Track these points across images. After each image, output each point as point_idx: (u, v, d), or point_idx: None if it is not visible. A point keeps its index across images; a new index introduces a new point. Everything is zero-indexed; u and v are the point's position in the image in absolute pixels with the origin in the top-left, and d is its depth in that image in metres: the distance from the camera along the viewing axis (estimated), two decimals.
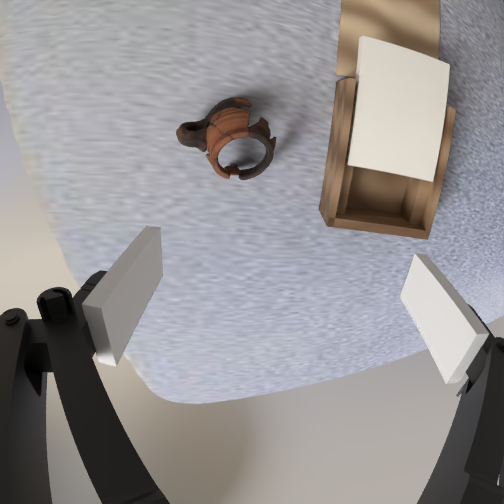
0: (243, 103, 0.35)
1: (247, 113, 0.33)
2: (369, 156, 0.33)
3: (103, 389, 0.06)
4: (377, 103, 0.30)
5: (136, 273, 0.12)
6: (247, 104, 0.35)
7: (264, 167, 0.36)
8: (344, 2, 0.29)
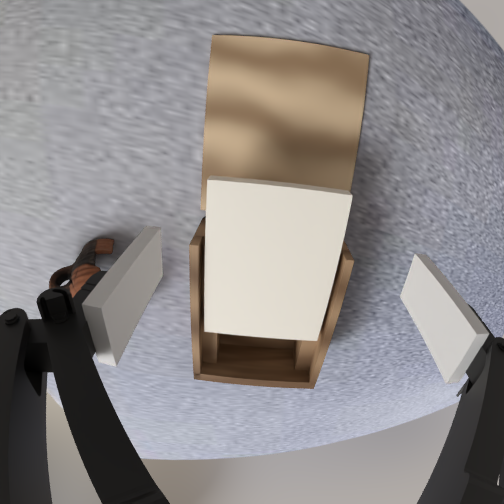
0: (102, 251, 0.32)
1: None
2: (228, 323, 0.31)
3: (103, 389, 0.06)
4: (232, 268, 0.28)
5: (136, 273, 0.12)
6: (107, 251, 0.33)
7: None
8: (209, 101, 0.27)
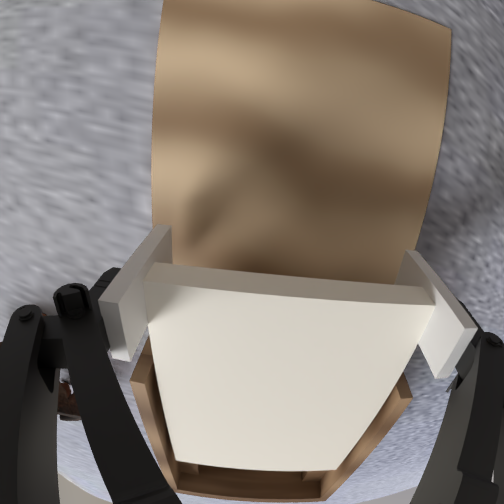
0: None
1: None
2: (209, 458, 0.18)
3: (118, 385, 0.06)
4: (207, 410, 0.15)
5: None
6: None
7: (80, 419, 0.21)
8: (159, 104, 0.14)
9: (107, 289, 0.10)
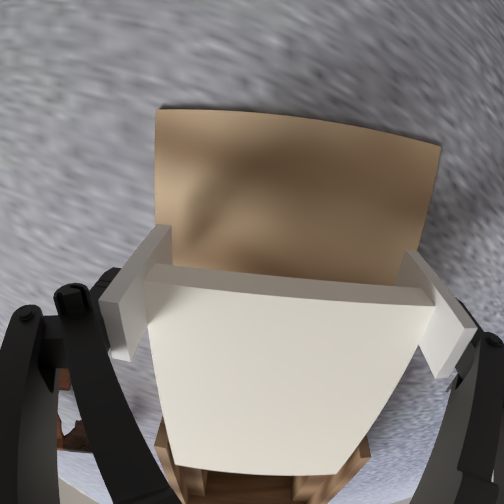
0: None
1: (57, 420, 0.20)
2: (208, 462, 0.18)
3: (118, 386, 0.06)
4: (206, 413, 0.15)
5: (149, 270, 0.12)
6: (64, 388, 0.22)
7: None
8: None
9: (107, 289, 0.10)
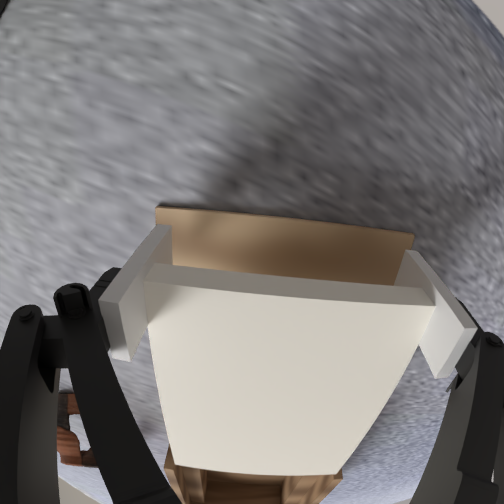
0: (75, 412, 0.24)
1: (76, 441, 0.22)
2: (208, 462, 0.18)
3: (118, 385, 0.06)
4: (206, 413, 0.15)
5: (149, 270, 0.12)
6: None
7: None
8: None
9: (107, 289, 0.10)
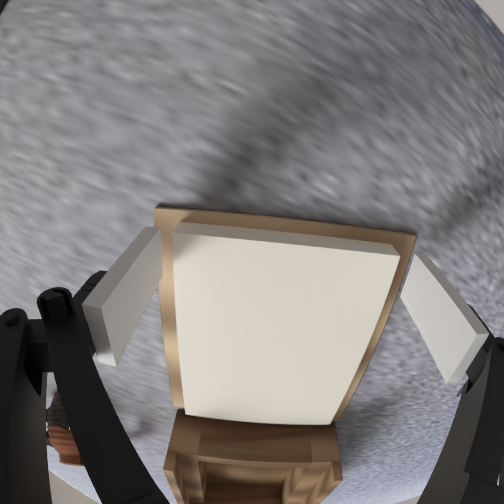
0: None
1: None
2: (215, 409, 0.22)
3: (103, 389, 0.06)
4: (217, 353, 0.19)
5: (136, 273, 0.12)
6: None
7: None
8: (165, 310, 0.19)
9: (91, 293, 0.09)
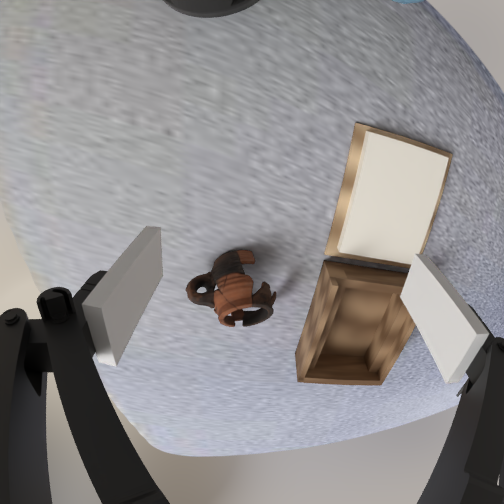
0: (247, 262, 0.41)
1: (251, 281, 0.38)
2: (359, 245, 0.39)
3: (103, 389, 0.06)
4: (373, 198, 0.36)
5: (136, 273, 0.12)
6: (251, 262, 0.41)
7: (265, 319, 0.42)
8: (347, 176, 0.37)
9: (91, 293, 0.09)
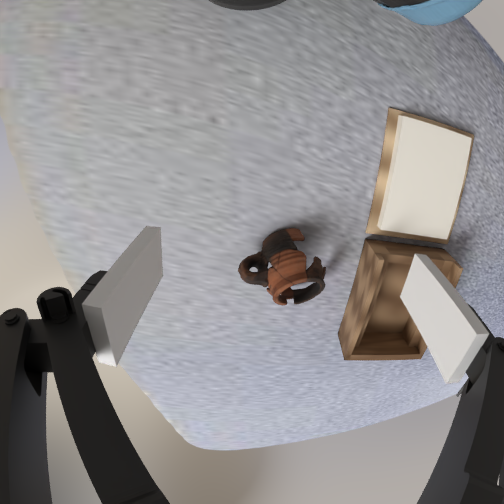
0: (297, 238, 0.41)
1: (304, 256, 0.39)
2: (398, 222, 0.40)
3: (103, 389, 0.06)
4: (409, 177, 0.37)
5: (136, 273, 0.12)
6: (300, 239, 0.41)
7: (316, 295, 0.43)
8: (384, 157, 0.37)
9: (91, 293, 0.09)
